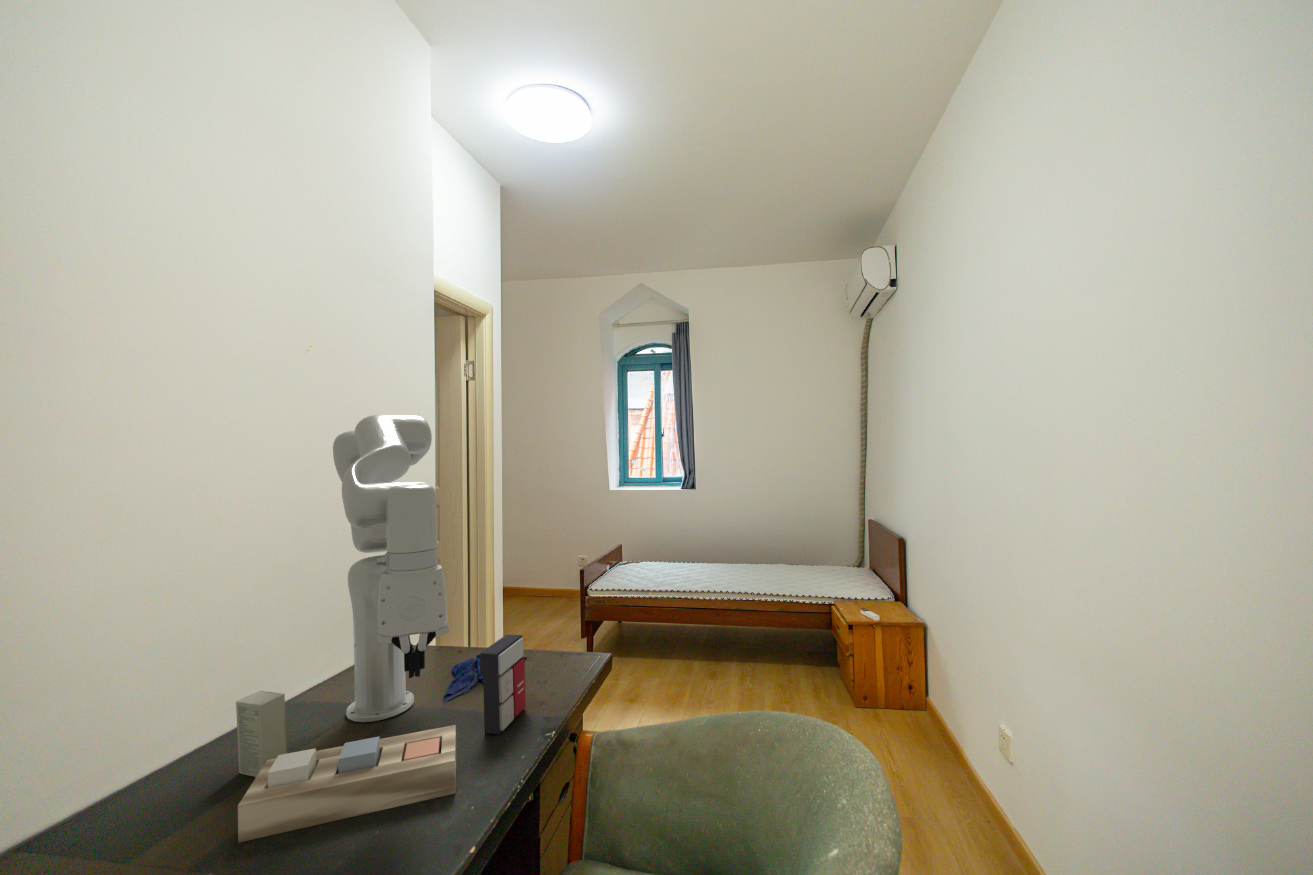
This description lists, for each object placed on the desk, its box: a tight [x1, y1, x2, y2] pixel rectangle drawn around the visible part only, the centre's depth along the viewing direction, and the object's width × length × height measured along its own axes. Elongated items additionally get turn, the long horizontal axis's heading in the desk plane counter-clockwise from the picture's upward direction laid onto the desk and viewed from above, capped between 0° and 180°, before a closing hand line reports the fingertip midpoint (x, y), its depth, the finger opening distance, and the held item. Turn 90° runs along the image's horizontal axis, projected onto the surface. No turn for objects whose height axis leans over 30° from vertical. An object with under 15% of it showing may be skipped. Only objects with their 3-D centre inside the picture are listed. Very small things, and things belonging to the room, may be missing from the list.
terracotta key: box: [404, 737, 440, 761], centre depth 88 cm, size 5×5×3 cm
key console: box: [237, 724, 457, 844], centre depth 85 cm, size 12×28×5 cm, turn 110°
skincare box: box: [235, 690, 288, 778], centre depth 93 cm, size 6×4×12 cm
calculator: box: [479, 634, 526, 735], centre depth 107 cm, size 11×4×15 cm, turn 168°
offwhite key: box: [268, 747, 317, 788], centre depth 82 cm, size 5×5×3 cm
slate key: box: [338, 736, 381, 774], centre depth 85 cm, size 5×5×3 cm
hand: (414, 673), depth 88 cm, fingers closed
